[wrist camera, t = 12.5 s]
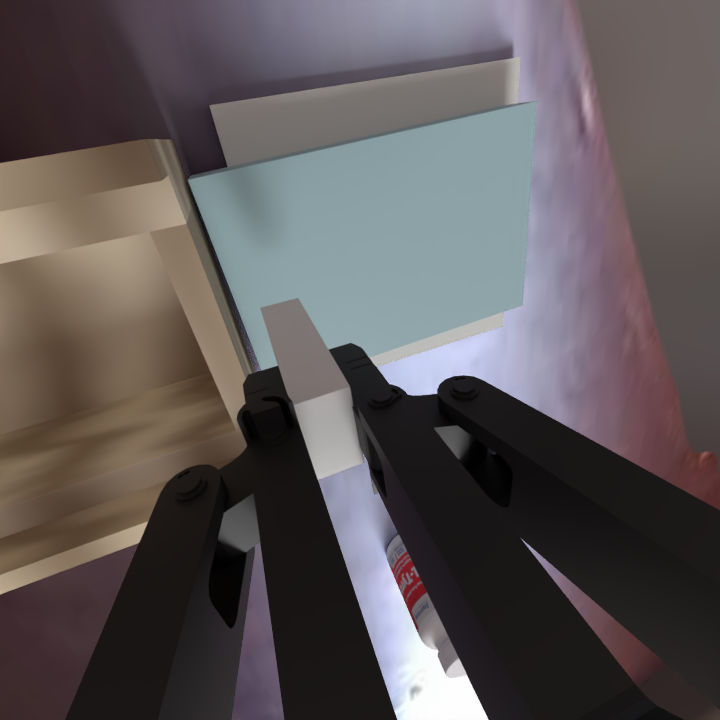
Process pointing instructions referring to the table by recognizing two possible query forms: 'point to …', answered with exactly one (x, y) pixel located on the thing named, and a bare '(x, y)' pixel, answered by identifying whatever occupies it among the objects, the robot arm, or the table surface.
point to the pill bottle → (422, 608)
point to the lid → (379, 230)
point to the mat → (366, 130)
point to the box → (106, 352)
